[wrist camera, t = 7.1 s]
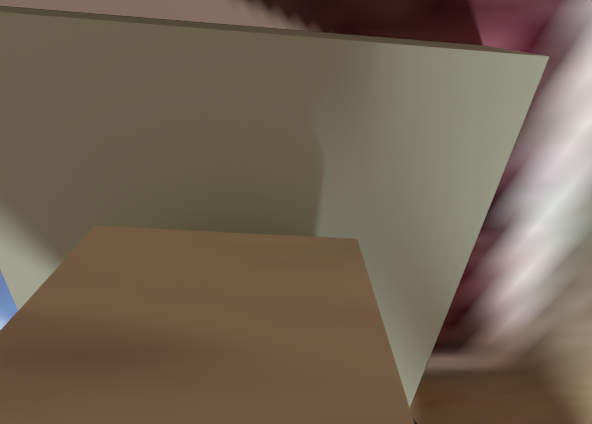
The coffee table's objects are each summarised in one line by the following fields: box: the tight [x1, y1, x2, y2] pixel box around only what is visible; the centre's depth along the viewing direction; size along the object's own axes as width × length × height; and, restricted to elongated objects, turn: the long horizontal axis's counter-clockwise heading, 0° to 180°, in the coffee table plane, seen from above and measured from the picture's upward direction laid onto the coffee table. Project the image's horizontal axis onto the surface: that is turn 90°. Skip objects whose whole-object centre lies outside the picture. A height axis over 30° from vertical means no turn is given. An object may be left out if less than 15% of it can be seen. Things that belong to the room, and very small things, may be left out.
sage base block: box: [0, 6, 549, 407], centre depth 12 cm, size 14×14×3 cm
